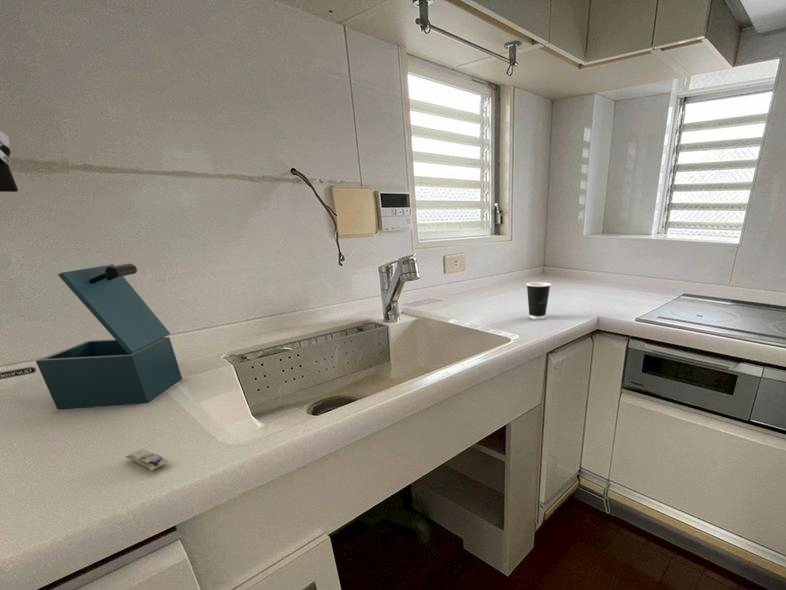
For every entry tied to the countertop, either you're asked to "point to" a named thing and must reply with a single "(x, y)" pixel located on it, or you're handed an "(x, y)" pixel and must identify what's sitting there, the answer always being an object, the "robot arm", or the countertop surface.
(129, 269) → the teal handled lid
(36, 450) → the countertop surface
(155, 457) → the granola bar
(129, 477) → the countertop surface
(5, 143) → the robot arm
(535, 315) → the dixie cup
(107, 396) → the teal box
